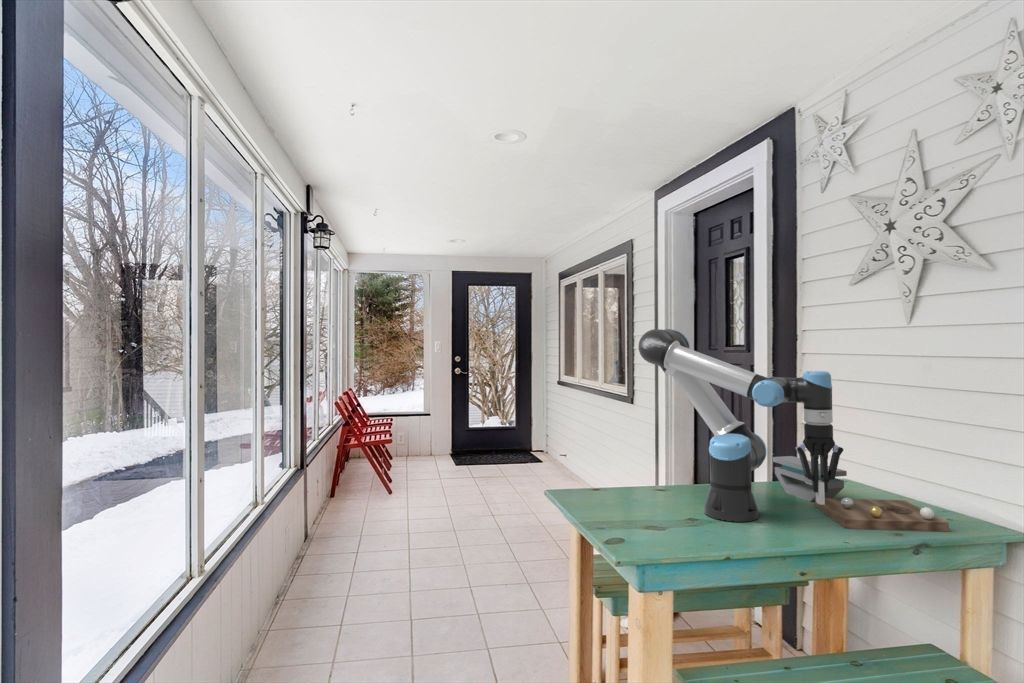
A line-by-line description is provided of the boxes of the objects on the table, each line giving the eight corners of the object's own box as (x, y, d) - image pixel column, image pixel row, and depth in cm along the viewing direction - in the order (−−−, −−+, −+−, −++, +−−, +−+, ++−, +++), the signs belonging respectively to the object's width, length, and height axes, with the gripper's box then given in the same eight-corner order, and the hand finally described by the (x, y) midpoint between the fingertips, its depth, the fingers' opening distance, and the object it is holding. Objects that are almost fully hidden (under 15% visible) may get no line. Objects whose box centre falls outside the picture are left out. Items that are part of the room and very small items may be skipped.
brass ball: (872, 519, 158) (872, 507, 158) (867, 515, 161) (866, 504, 161) (885, 519, 158) (884, 507, 158) (879, 516, 161) (879, 504, 161)
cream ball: (923, 520, 156) (923, 509, 156) (917, 517, 159) (917, 505, 159) (936, 521, 156) (936, 509, 156) (930, 517, 159) (929, 506, 159)
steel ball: (843, 509, 167) (843, 498, 167) (839, 506, 170) (838, 496, 170) (855, 510, 167) (855, 499, 167) (850, 507, 170) (850, 496, 170)
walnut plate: (845, 528, 158) (845, 519, 158) (815, 505, 180) (814, 498, 180) (948, 531, 155) (948, 522, 155) (905, 508, 176) (904, 500, 176)
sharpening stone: (847, 505, 180) (846, 471, 180) (825, 507, 179) (825, 472, 179) (792, 486, 205) (791, 455, 205) (772, 487, 203) (772, 457, 203)
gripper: (799, 425, 167) (801, 506, 167) (847, 425, 165) (849, 507, 165) (790, 421, 174) (792, 499, 174) (836, 421, 172) (838, 500, 172)
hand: (820, 503), depth 169 cm, fingers closed
